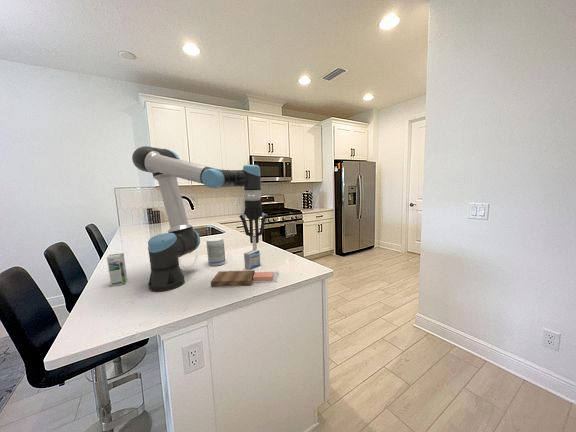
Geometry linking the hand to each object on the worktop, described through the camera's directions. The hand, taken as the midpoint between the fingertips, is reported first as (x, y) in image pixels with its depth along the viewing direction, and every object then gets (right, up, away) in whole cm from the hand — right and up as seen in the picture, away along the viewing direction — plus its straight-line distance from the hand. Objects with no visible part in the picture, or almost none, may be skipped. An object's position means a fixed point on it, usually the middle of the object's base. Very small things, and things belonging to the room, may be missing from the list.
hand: (254, 249), depth 110 cm
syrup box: (-66, -17, +3) cm, 68 cm away
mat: (+5, -14, +4) cm, 15 cm away
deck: (-10, -15, +1) cm, 18 cm away
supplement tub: (-26, -12, +26) cm, 39 cm away
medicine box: (-4, -12, +19) cm, 23 cm away
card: (+4, -14, +2) cm, 15 cm away
